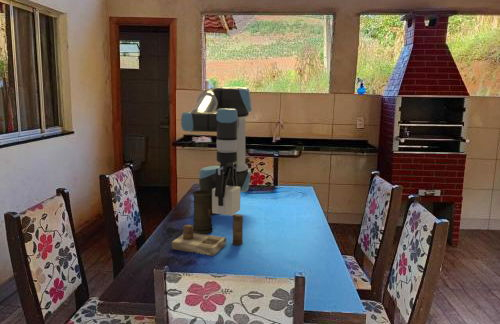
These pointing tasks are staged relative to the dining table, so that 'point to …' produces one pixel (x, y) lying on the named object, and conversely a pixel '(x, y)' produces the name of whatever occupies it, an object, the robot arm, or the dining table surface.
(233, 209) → the block
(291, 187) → the dining table surface
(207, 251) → the board
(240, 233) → the peg
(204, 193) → the container
